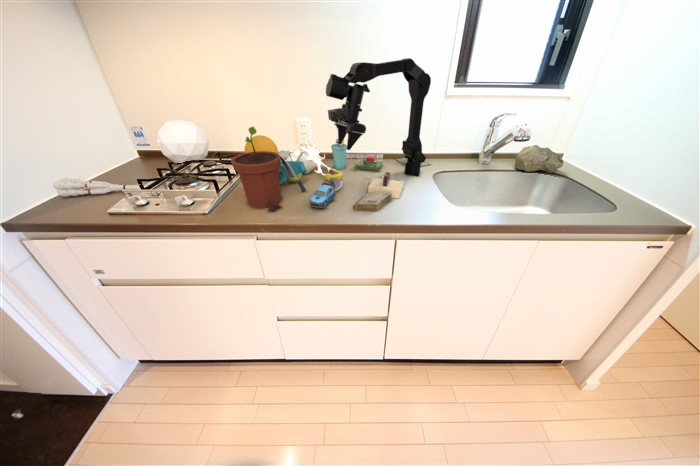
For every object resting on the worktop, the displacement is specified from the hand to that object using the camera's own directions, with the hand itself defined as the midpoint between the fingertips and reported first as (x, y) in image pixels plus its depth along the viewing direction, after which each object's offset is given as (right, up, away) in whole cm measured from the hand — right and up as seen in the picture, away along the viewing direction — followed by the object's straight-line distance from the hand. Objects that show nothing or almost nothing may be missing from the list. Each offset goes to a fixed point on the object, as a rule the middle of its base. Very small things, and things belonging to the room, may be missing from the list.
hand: (343, 146), depth 97 cm
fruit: (-22, -12, +9) cm, 26 cm away
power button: (+12, +2, +24) cm, 27 cm away
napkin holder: (+35, +4, +33) cm, 49 cm away
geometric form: (-86, +7, +34) cm, 93 cm away
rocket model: (-107, -17, -5) cm, 108 cm away
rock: (+90, 0, +16) cm, 92 cm away
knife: (-4, -12, +10) cm, 16 cm away
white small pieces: (-22, +6, +16) cm, 28 cm away
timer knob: (+17, -14, +1) cm, 22 cm away
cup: (-3, -2, +25) cm, 25 cm away
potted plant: (-26, -22, -5) cm, 34 cm away
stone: (+11, -24, -7) cm, 27 cm away
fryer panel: (+17, -17, +3) cm, 24 cm away
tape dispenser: (-22, -12, +2) cm, 25 cm away
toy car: (-8, -23, -7) cm, 25 cm away
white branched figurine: (-13, 0, +14) cm, 19 cm away
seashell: (-23, 0, +15) cm, 28 cm away
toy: (-46, +1, +20) cm, 51 cm away
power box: (+12, -1, +26) cm, 28 cm away
